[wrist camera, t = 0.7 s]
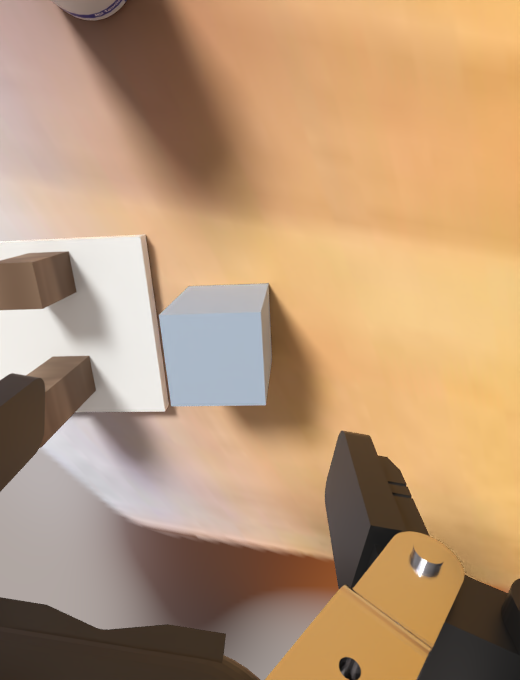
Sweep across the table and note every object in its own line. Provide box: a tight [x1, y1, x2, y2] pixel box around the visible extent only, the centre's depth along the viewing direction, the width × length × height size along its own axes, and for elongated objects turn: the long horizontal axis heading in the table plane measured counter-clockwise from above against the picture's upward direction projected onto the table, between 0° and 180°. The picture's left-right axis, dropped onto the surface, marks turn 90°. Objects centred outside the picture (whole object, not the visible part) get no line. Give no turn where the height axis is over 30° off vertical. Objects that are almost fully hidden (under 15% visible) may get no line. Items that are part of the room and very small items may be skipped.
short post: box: [0, 251, 77, 310], centre depth 26 cm, size 3×3×4 cm
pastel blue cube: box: [159, 283, 272, 406], centre depth 26 cm, size 5×5×7 cm
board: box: [0, 235, 169, 412], centre depth 29 cm, size 12×12×1 cm
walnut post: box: [26, 356, 96, 448], centre depth 27 cm, size 3×3×7 cm
